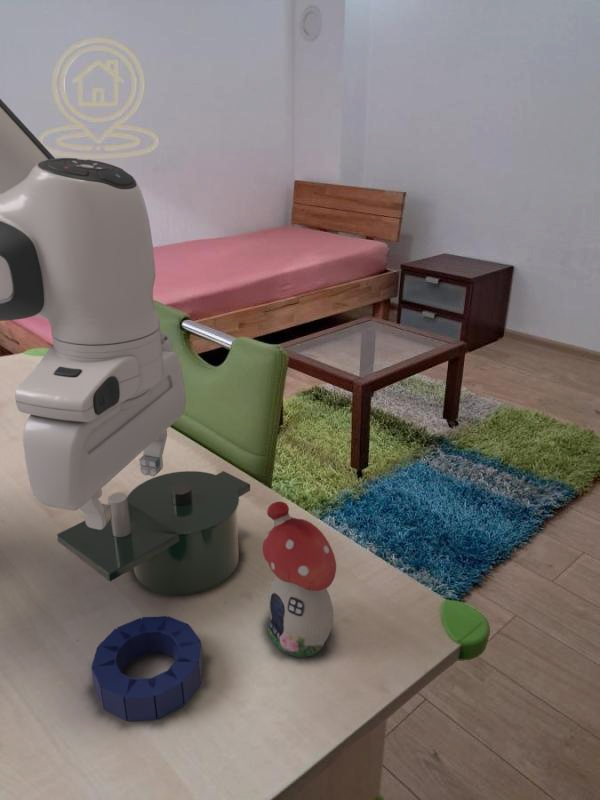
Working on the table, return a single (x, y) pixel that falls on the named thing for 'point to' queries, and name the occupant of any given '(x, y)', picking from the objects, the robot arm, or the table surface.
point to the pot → (167, 533)
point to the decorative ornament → (298, 583)
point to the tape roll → (147, 693)
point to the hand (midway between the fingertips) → (127, 496)
